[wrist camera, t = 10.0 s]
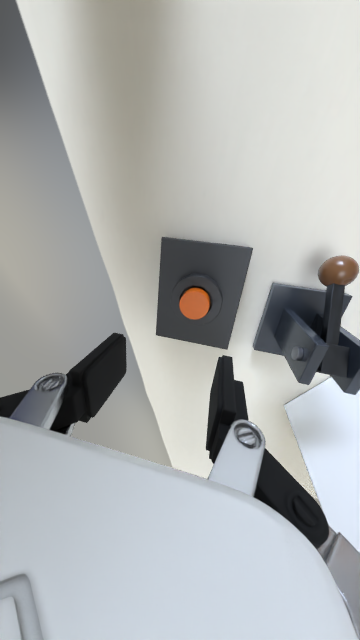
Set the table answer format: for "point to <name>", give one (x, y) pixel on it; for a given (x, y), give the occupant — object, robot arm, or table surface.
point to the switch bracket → (304, 334)
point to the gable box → (331, 452)
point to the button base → (205, 273)
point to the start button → (194, 303)
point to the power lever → (335, 312)
